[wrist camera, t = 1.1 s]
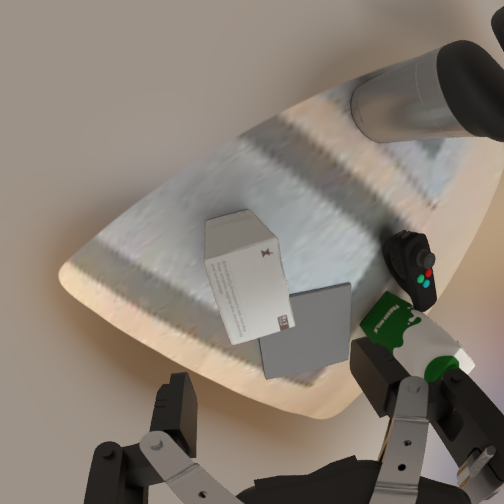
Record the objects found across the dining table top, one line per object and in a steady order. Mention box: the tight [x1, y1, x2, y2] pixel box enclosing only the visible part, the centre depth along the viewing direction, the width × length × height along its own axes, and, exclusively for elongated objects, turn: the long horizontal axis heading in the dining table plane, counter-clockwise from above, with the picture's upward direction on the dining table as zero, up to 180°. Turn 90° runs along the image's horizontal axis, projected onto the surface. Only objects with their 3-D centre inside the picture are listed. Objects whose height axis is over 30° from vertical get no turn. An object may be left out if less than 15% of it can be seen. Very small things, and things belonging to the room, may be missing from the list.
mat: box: [259, 283, 351, 380], centre depth 39 cm, size 14×14×1 cm
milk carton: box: [360, 291, 475, 382], centre depth 32 cm, size 9×9×20 cm
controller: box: [384, 230, 437, 312], centre depth 34 cm, size 4×12×10 cm, turn 29°
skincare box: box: [204, 209, 295, 345], centre depth 28 cm, size 8×6×15 cm
